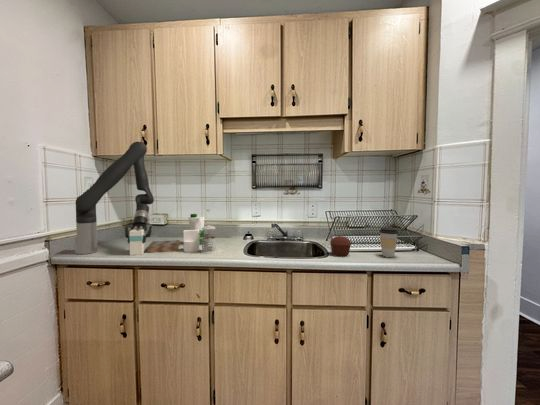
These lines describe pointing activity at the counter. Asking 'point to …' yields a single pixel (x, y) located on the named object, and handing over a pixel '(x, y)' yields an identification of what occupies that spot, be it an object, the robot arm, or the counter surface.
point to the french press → (208, 240)
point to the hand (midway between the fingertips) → (136, 242)
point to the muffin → (340, 246)
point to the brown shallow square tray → (163, 246)
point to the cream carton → (136, 242)
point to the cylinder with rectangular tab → (191, 240)
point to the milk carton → (197, 225)
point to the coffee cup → (388, 241)
